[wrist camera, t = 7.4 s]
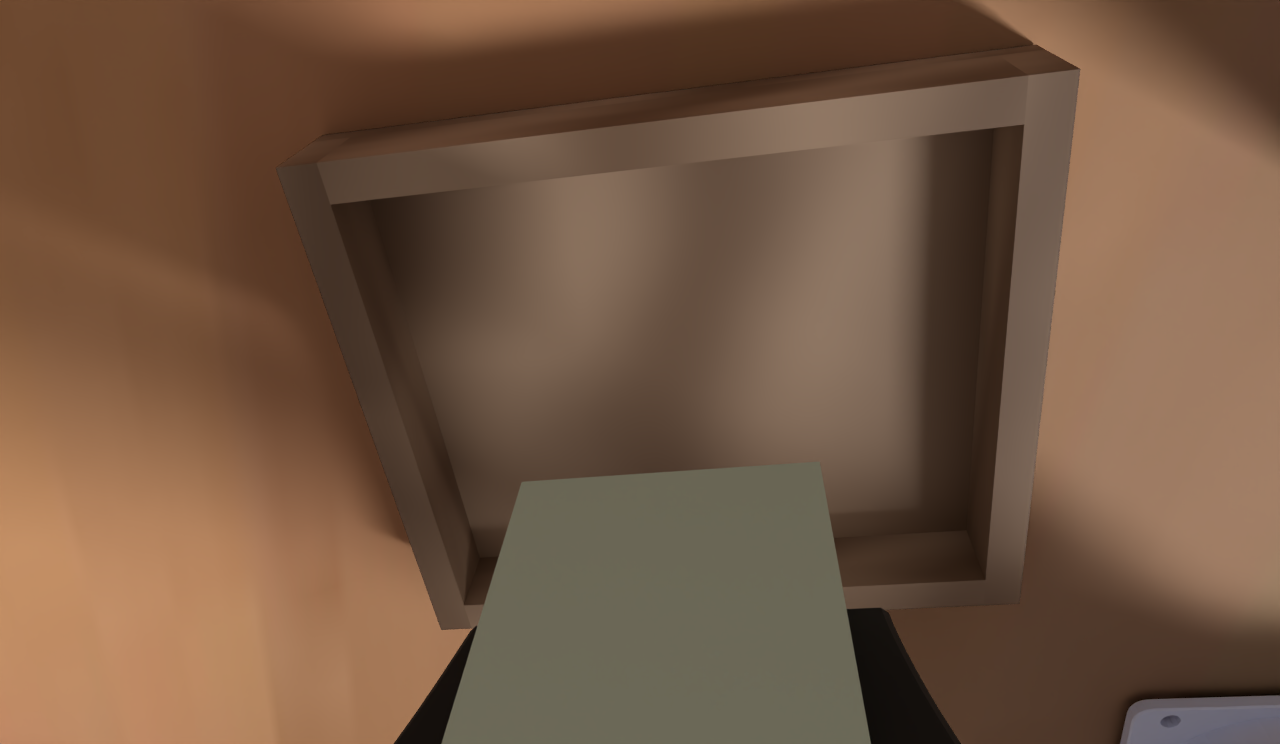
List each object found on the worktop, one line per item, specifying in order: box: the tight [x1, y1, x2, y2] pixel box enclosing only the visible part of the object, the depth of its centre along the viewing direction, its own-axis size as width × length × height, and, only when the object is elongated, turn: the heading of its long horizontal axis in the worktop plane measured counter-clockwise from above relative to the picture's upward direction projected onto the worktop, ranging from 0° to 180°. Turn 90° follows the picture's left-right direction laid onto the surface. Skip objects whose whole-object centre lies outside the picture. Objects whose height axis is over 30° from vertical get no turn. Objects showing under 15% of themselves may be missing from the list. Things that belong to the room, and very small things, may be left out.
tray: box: [276, 45, 1080, 630], centre depth 19 cm, size 14×12×2 cm
